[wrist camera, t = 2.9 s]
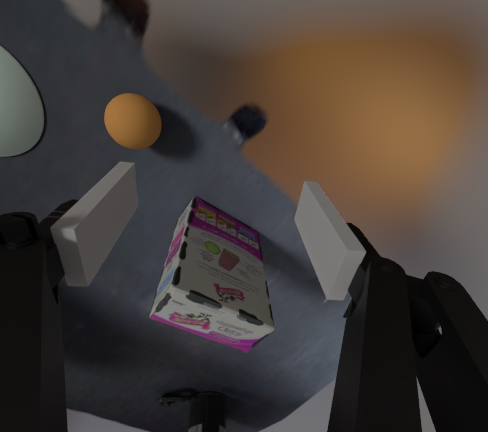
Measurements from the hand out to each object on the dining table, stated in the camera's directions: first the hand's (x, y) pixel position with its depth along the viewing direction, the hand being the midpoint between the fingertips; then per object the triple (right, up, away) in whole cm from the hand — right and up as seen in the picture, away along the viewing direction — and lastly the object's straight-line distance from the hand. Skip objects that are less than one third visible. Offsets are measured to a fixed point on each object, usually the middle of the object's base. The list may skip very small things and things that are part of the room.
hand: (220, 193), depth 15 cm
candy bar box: (-2, -3, +22) cm, 23 cm away
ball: (-10, +8, +12) cm, 18 cm away
